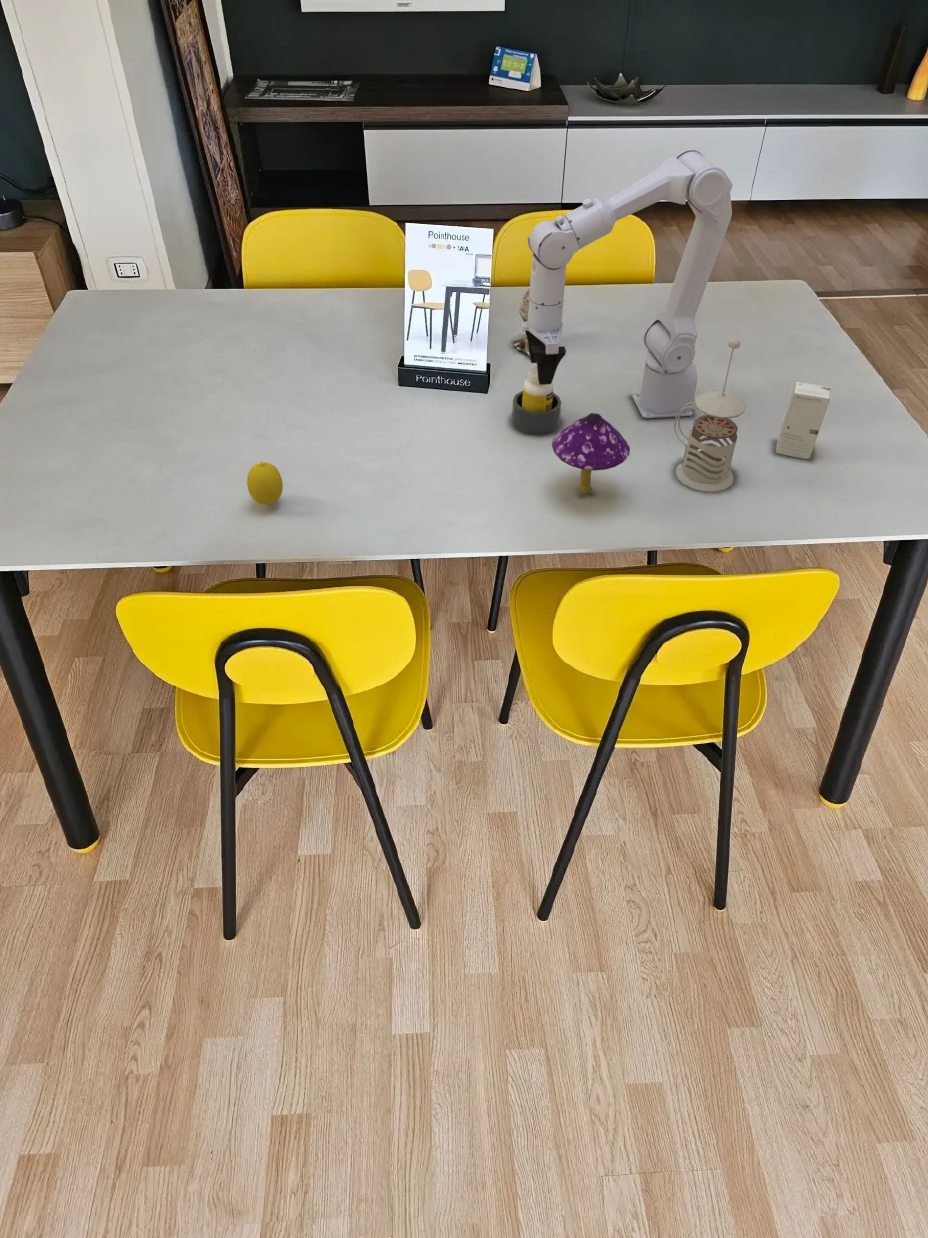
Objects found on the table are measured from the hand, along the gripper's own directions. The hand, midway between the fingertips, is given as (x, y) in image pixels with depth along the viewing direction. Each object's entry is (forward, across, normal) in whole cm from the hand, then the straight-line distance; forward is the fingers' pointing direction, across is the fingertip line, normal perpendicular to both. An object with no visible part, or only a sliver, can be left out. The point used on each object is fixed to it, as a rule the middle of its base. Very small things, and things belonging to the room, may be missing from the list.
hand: (540, 372), depth 167 cm
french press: (+10, +20, +24) cm, 33 cm away
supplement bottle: (+9, 0, 0) cm, 9 cm away
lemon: (+10, +20, -48) cm, 53 cm away
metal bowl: (+10, 0, 0) cm, 10 cm away
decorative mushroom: (+10, +23, +4) cm, 25 cm away
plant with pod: (+10, -28, +5) cm, 31 cm away
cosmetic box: (+10, +15, +44) cm, 47 cm away
